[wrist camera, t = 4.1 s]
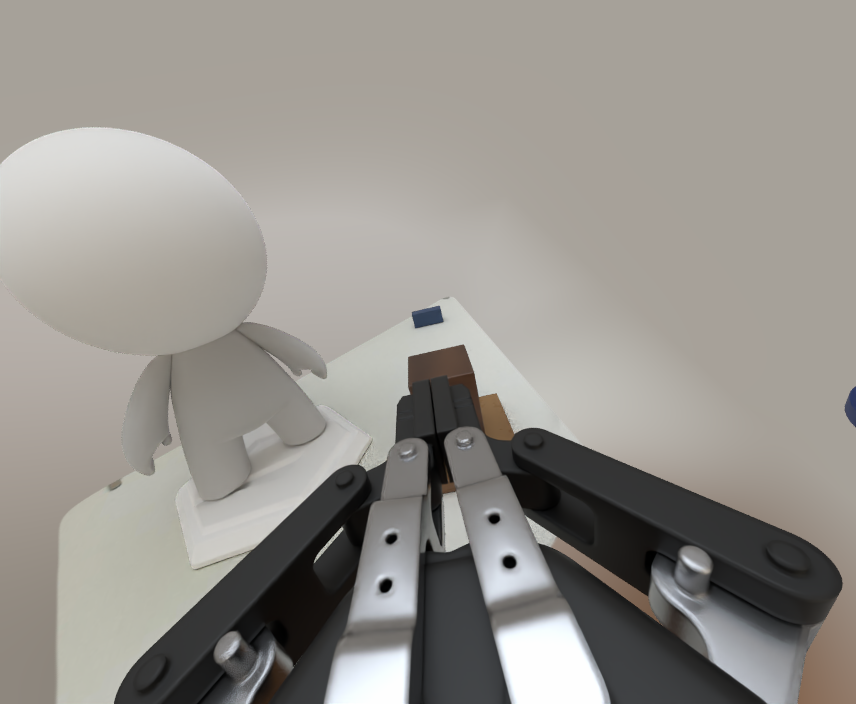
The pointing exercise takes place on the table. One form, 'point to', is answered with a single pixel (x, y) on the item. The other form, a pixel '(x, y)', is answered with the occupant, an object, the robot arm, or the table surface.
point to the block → (461, 372)
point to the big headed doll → (173, 322)
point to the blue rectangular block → (427, 316)
